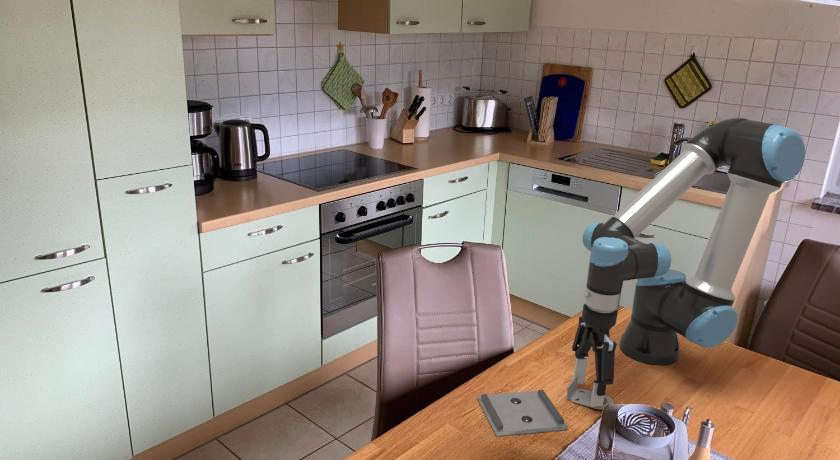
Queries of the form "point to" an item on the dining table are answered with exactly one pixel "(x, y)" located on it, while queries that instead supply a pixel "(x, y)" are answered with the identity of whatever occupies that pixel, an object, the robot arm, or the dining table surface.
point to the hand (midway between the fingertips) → (587, 393)
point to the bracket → (583, 395)
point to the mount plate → (521, 413)
